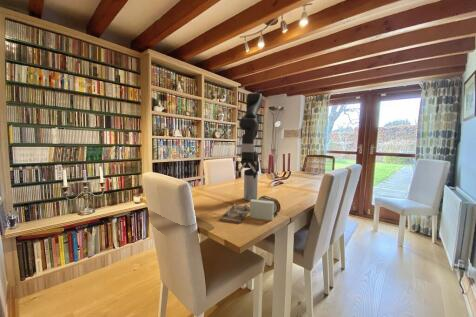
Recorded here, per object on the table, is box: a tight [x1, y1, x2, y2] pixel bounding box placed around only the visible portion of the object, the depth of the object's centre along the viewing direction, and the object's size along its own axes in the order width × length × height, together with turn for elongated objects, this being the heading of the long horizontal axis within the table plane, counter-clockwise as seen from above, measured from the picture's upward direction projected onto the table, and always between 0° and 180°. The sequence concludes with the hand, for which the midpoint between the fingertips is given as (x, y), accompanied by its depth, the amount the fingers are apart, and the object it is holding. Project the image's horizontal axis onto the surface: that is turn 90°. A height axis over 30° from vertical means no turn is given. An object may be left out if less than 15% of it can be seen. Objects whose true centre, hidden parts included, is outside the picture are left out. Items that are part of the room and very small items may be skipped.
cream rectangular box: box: [249, 199, 275, 221], centre depth 107 cm, size 4×12×9 cm, turn 72°
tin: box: [257, 195, 282, 215], centre depth 117 cm, size 15×3×8 cm, turn 41°
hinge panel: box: [219, 203, 250, 224], centre depth 112 cm, size 22×11×4 cm, turn 162°
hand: (247, 178), depth 123 cm, fingers open, 8 cm apart
